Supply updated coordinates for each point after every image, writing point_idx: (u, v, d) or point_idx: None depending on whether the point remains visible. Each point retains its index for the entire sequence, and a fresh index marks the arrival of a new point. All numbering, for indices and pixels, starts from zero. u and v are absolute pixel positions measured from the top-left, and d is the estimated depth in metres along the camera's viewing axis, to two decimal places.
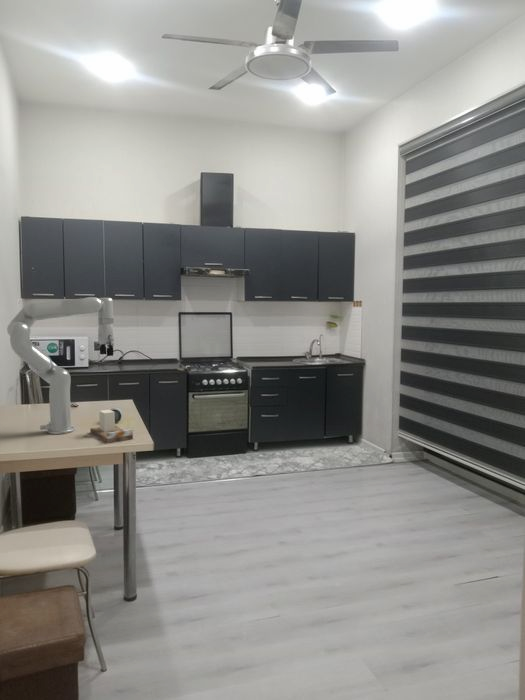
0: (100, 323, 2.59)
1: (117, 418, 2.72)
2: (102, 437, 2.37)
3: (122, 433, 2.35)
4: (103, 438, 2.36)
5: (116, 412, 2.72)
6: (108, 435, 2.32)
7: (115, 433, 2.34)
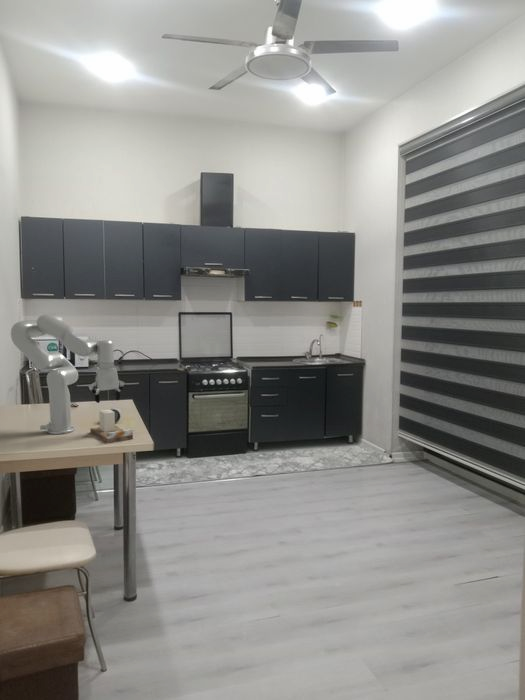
0: (111, 367, 2.44)
1: (116, 418, 2.72)
2: (102, 437, 2.37)
3: (122, 433, 2.35)
4: (103, 438, 2.36)
5: (115, 412, 2.72)
6: (108, 435, 2.32)
7: (115, 433, 2.34)
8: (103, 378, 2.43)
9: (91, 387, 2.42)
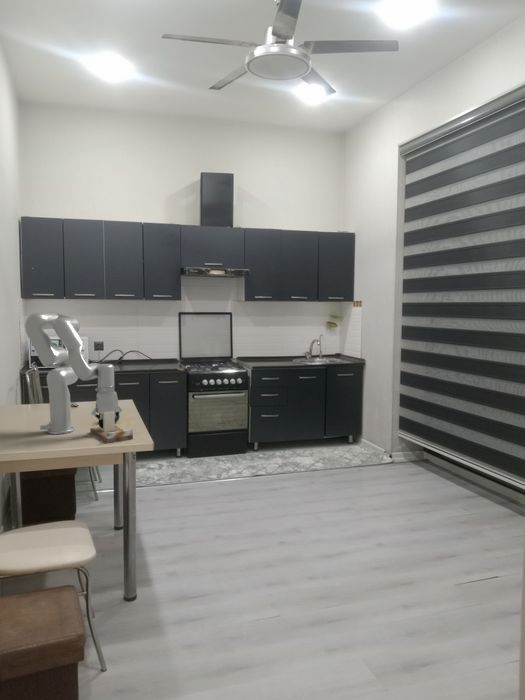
0: (112, 391, 2.45)
1: (115, 418, 2.72)
2: (102, 437, 2.37)
3: (122, 433, 2.35)
4: (103, 438, 2.36)
5: None
6: (108, 435, 2.32)
7: (115, 433, 2.34)
8: (103, 402, 2.44)
9: (94, 413, 2.44)
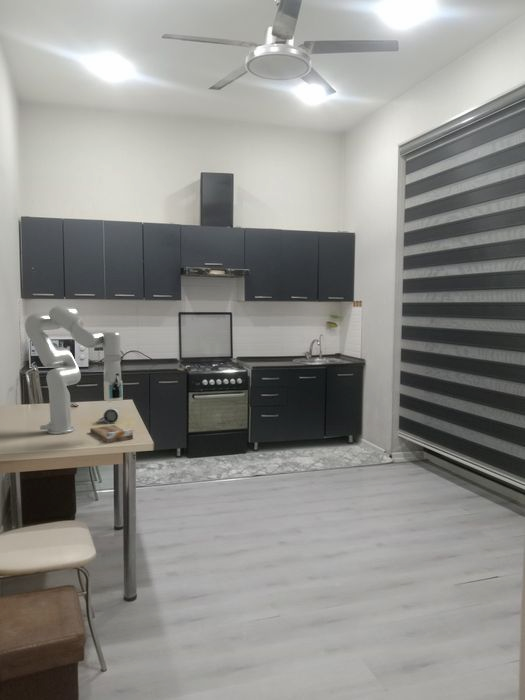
0: (106, 360, 2.35)
1: (114, 418, 2.72)
2: (102, 437, 2.37)
3: (122, 433, 2.35)
4: (103, 438, 2.36)
5: (113, 412, 2.71)
6: (108, 435, 2.32)
7: (115, 433, 2.34)
8: (105, 370, 2.39)
9: None
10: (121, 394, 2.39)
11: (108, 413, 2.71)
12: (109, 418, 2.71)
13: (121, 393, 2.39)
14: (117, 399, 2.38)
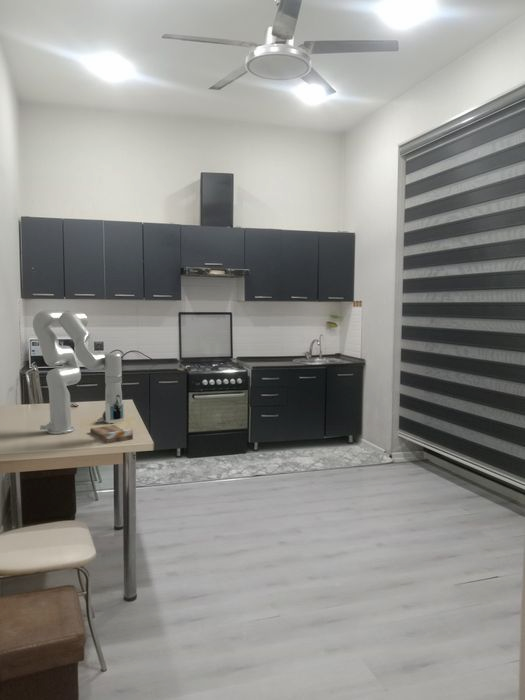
0: (107, 382, 2.35)
1: None
2: (102, 437, 2.37)
3: (122, 433, 2.35)
4: (103, 438, 2.36)
5: None
6: (108, 435, 2.32)
7: (115, 433, 2.34)
8: (106, 391, 2.39)
9: None
10: (122, 415, 2.39)
11: None
12: None
13: (122, 414, 2.39)
14: (118, 420, 2.38)
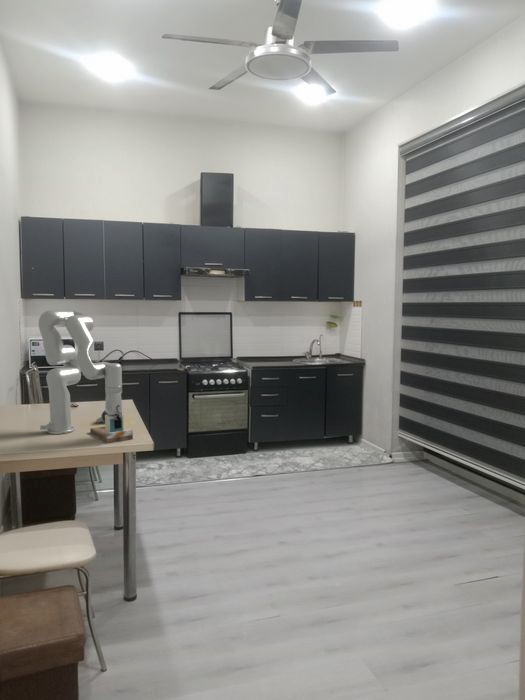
0: (107, 392, 2.36)
1: None
2: (102, 437, 2.37)
3: (122, 433, 2.35)
4: (103, 438, 2.36)
5: None
6: (108, 435, 2.32)
7: (115, 433, 2.34)
8: (106, 401, 2.40)
9: None
10: (122, 428, 2.40)
11: (106, 413, 2.71)
12: None
13: (122, 427, 2.40)
14: None
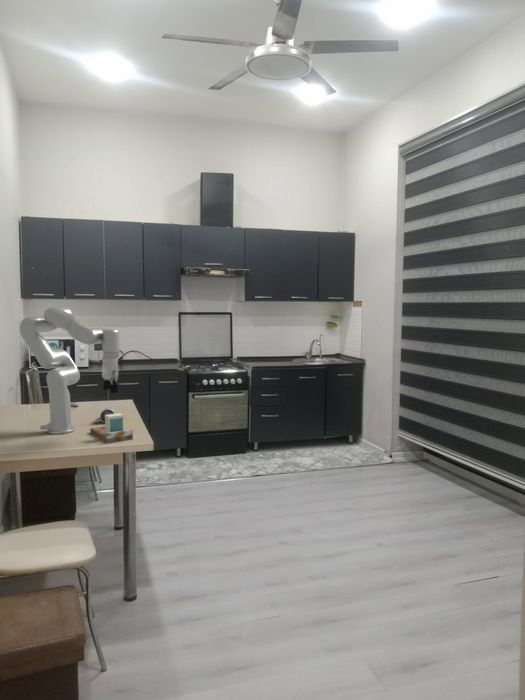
0: (104, 357, 2.38)
1: None
2: (102, 437, 2.37)
3: (122, 433, 2.35)
4: (103, 438, 2.36)
5: (109, 412, 2.71)
6: (108, 435, 2.32)
7: (115, 433, 2.34)
8: (103, 366, 2.42)
9: None
10: (122, 428, 2.40)
11: (105, 413, 2.71)
12: None
13: (122, 427, 2.40)
14: None
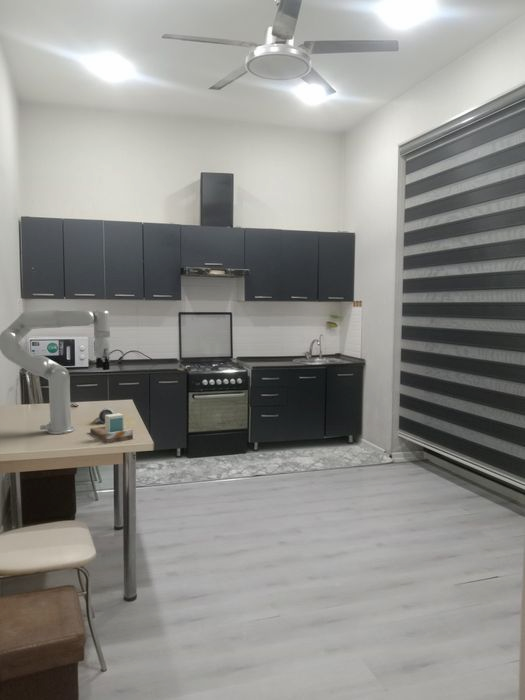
0: (96, 336, 2.54)
1: None
2: (102, 437, 2.37)
3: (122, 433, 2.35)
4: (103, 438, 2.36)
5: (108, 412, 2.71)
6: (108, 435, 2.32)
7: (115, 433, 2.34)
8: (95, 345, 2.58)
9: None
10: (122, 428, 2.40)
11: (103, 413, 2.71)
12: (104, 418, 2.71)
13: (122, 427, 2.40)
14: None
